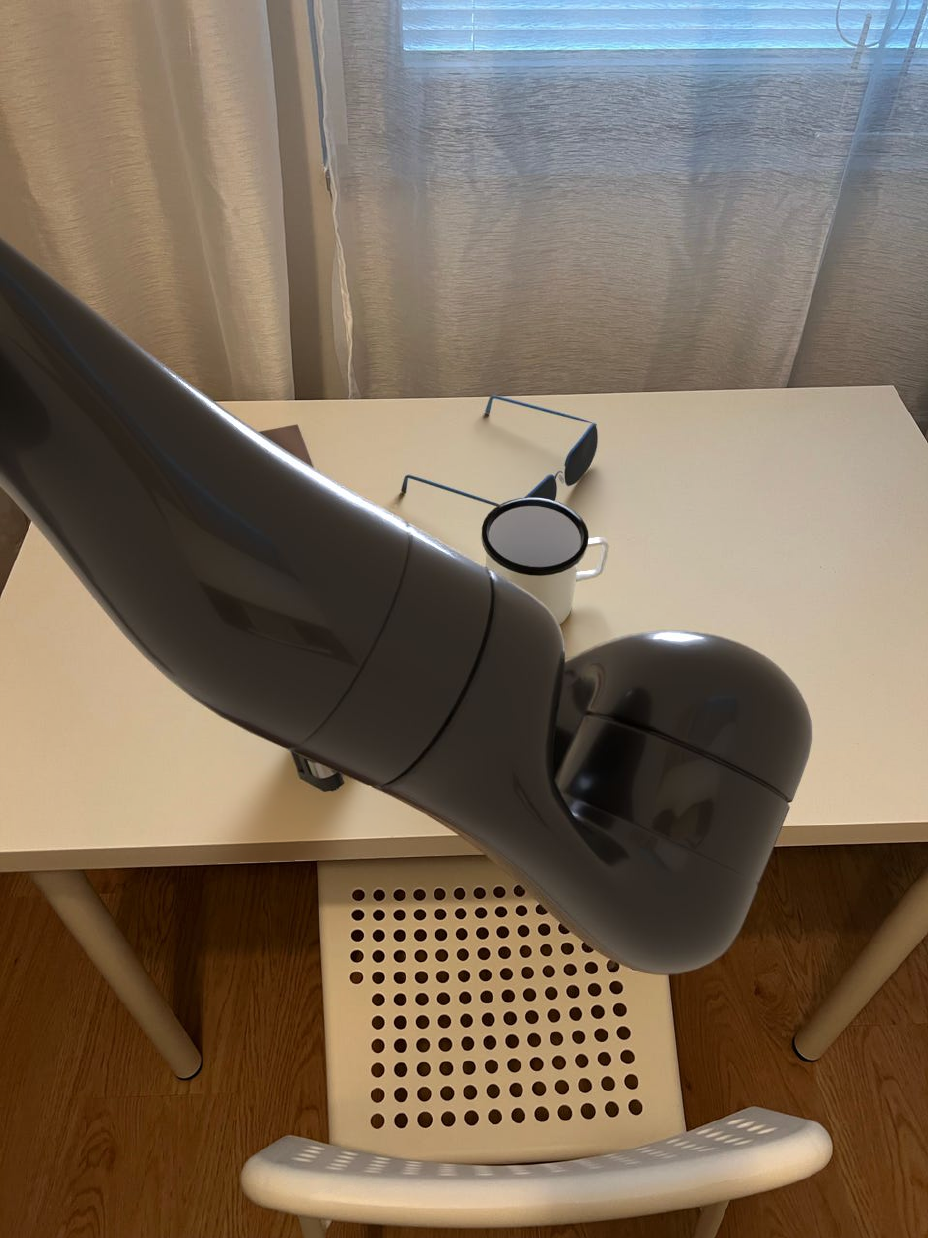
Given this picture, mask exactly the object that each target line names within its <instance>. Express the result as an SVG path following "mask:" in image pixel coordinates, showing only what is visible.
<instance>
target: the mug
mask: <svg viewBox="0 0 928 1238" xmlns="http://www.w3.org/2000/svg"><path fill="white" fill-rule="evenodd" d="M480 540H481V544H482V547H483V549H484V550H485V553H486V554H485V567H487V568H489V569H491V570H493V571H494V572H496V573H498V574H500V575H501V576H503V577H505V578H507V579H508V580H510V581H512V582H513V583H515V584H517V585H518V586H520V587H522V588H523V589H525V590H526V591H528V592H529V593H531V594H532V595H533V596H535V597H536V598H537V599H539V600H540V601H541V602H543V603H544V604H545V605H546V606H547V607H548V608H549V610H550V611H551V612H552V613H553V615H554V616H555V617H556V619H557V621H558V623H559V625H561V624H562V623H563V622H565V621H566V619H567V618H568V617H569V614H570V612H571V610H572V606H573V600H574V593H575V589H576V583H578V582H583V581H586V580H590V579H594V578H598V577H599V576H601V575H602V574H603V572H604V570H605V567H606V564H607V560H608V555H609V548H610V545H609V543H608V541H607V539H606V538H605V537H602V536H601V537H589V529H588V527H587V525H586V523H585V522H584V520H583V518H582V517H581V516H580V515H579V514H578V513H577V512H576V511H575V510H573V509H572V508H571V507H569V506H567V505H566V504H564V503H561V502H559V501H556V500H555V501H553V500H550V499H545V498H537V497H526V498H524V497H518V498H514V499H509V500H507V501H505V502H502V503H501V504H500V505H499V506H495V507H494V508H493V509H492V510H491V511H489V513H487V515H486V517H485V518H484V520H483V522H482V526H481V532H480ZM597 546H602V547H601V553H600V557H599V560H598V565H597V566H596V567H595V568H594V569H591V570H585V571H578V569H579V563H580V561H581V560H582V559H583V558H584V556H585V555H586V554H587V553H586V552H587V551H588V548H591V547H597Z"/></svg>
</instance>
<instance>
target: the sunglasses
mask: <svg viewBox="0 0 928 1238" xmlns="http://www.w3.org/2000/svg"><path fill="white" fill-rule="evenodd" d="M488 399H489V400H488V402H487V405H486V408H485V410H484V411H485V412H484V413H485V414H488V415H490V414H491V410H492V405H493V400H494V399H495V400H500V401H503V402H507V403H511V404H514V405H517V406H522V407H525V408H530V409H532V410H538V411H540V412H545V413H548V414H551V415H556V416H559V417H563V418H567V419H570V420H576V421H580V422H584V423H589V426H588V428H587V429H586V431H585V432H584V433H583V435H582V436H581V437H580V438H579V440H578V441H577V442H576V443H575V445H574V446H573V447H572V448H571V449H570V450H569V452H568V453H567V455H566V458H565V461H564V463H563V464H564V465H563V466H564V471H563V470H557V472H556V473H555V475H553V474H551V473H550V474H548V475H546V476H545V478H543V479H542V480H541V481H540V482H539V483H538V484H537V485H536V486H535V487H533V489H532V490H531V491H529V492H528V493H527V494H526V495H525V496H524V497H523V498H526V497H537V498H545V499H550V500H553V501H556V500H557V499H556V497H557V492H558V485H557V480H556V479H557V476H558V480H559V482H560V483H561V484H564V483H565V485H566V486H567V487H570V486H573V485H575V484H577V483H578V482H579V481H580V480H581V479H582V478H583V477H584V475H585V474H586V472H587V471H588V470H589V468H590V466H591V465H592V462H593V460H594V458H595V456H596V453H597V449H598V443H599V440H598V439H599V436H598V435H599V433H598V428H597V426H598V425H597V423H596V422H592V421H589V420H586V419H584V418H580V417H577V416H574V415H570V414H567V413H564V412H561V411H560V412H559V411H556V410H552V409H549V408H546V407H541V406H538V405H534V404H531V403H527V402H523V401H519V400H515V399H512V398H508V397H503V396H499V395H496V394H495V395H494V394H492V395H490V397H489V398H488ZM560 473H561V474H563V473H564V477H563V475H561V474H560ZM409 479H411V480H414V481H416V482H420V483H423V484H426V485H430V486H432V487H434V488H438V489H441V490H444V491H448V492H450V493H454V494H456V495H460V496H462V497H463V496H464V497H466V498H468V499H472V500H476V501H478V502H482V503H483V504H484V503H485V504H488V505H491V506H495V507H497V506H499V505H500V504H499V503H497V502H494V501H491V500H488V499H485V498H483V497H479V496H476V495H473V494H471V493H468V492H465V491H461V490H459V489H455V488H453V487H450V486H446V485H443V484H440V483H437V482H435V481H431V480H429V479H425V478H422V477H419V476H415V475H413V474H406V475H405V476H404V478H403V482H402V485H401V490H400V492H401V493H403V494H407V489H408V481H409Z"/></svg>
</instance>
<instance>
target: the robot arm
mask: <svg viewBox="0 0 928 1238" xmlns="http://www.w3.org/2000/svg"><path fill="white" fill-rule="evenodd" d="M259 432H260V431H258V430H256V429H254V428H253V427H252V426H251V425H249V424H247V423H246V422H244V421H243V420H241V419H240V418H239V417H237V416H236V415H235V414H233V413H232V412H230V411H229V410H228V409H226V408H224V407H223V406H222V405H220V404H219V403H217V402H216V401H215V400H213V399H212V398H210V397H209V396H208V395H206V394H205V393H203V392H202V391H201V390H199V389H198V388H196V387H195V386H193V384H191V383H190V382H189V381H187V380H185V379H184V378H183V377H182V376H180V375H179V374H178V373H177V372H175V371H173V370H172V369H171V368H170V367H168V366H167V365H166V364H165V363H163V362H162V361H161V360H159V359H158V358H157V357H155V356H153V354H151V353H149V352H148V351H147V350H146V349H144V348H143V346H140V344H138V343H137V342H136V341H134V340H133V339H132V338H131V337H130V336H128V335H127V334H126V333H125V332H123V331H121V329H119V328H118V327H117V326H116V325H114V324H113V323H112V322H111V321H109V319H107V318H106V317H104V316H103V315H102V314H100V313H99V312H98V311H97V310H95V309H94V308H93V307H91V306H90V305H89V304H88V303H86V302H85V301H84V300H82V299H81V298H80V297H78V295H76V294H75V293H74V292H73V291H71V290H70V289H68V288H67V287H66V286H65V285H63V284H62V283H61V282H60V281H59V280H58V279H56V278H55V277H54V276H53V275H51V274H50V273H49V272H48V271H46V270H45V269H43V268H42V267H41V266H40V265H38V264H37V263H36V262H35V261H33V260H32V259H31V258H30V257H28V256H27V255H26V254H25V253H23V252H22V251H20V249H18V248H17V247H16V246H14V245H13V244H12V243H10V242H9V241H7V239H5V238H4V237H3V236H2V235H0V488H1V489H2V490H3V491H4V492H5V493H6V494H7V495H8V496H9V497H10V498H11V499H12V500H13V502H15V504H16V505H17V506H18V508H20V510H21V511H22V512H23V513H24V514H25V516H26V517H27V518H28V519H29V520H30V521H31V523H32V524H33V525H34V526H35V528H36V529H37V530H38V531H39V532H40V533H41V534H42V535H43V537H44V539H46V541H48V542H49V544H50V545H51V546H52V548H53V549H54V550H55V551H56V553H57V555H59V556H60V558H61V559H62V560H63V562H64V563H65V564H66V565H67V567H68V568H69V569H70V570H71V572H72V573H73V574H74V575H75V577H76V578H77V579H78V580H79V582H80V583H81V584H82V586H84V588H85V589H86V591H87V592H88V593H89V594H90V595H91V597H92V598H93V599H94V600H95V601H96V603H97V604H98V605H99V607H101V609H102V610H103V611H104V612H105V613H106V615H107V616H108V617H109V618H110V620H111V621H112V622H113V624H115V626H116V627H117V628H118V630H119V631H120V633H122V634H123V636H124V637H125V638H126V639H127V640H128V641H129V642H130V644H132V645H133V646H134V647H135V648H136V649H137V651H138V652H139V653H140V654H141V655H142V656H143V657H144V658H145V659H146V660H147V661H148V662H149V663H151V664H152V665H153V666H154V667H155V668H156V669H157V670H158V671H159V672H160V673H161V674H162V675H163V676H164V677H166V678H167V680H169V681H170V682H171V683H173V684H174V685H175V686H176V687H178V688H179V689H180V690H182V691H183V692H184V693H185V694H187V695H188V696H189V698H191V699H193V700H195V702H197V703H199V704H200V705H202V706H203V707H205V708H206V709H208V710H210V711H211V712H212V713H214V714H215V715H217V716H219V717H220V718H222V719H223V720H226V721H227V722H229V723H231V724H233V725H235V726H236V727H238V728H241V729H242V730H245V732H248V733H250V734H252V735H254V736H257V737H259V738H261V739H264V740H265V741H268V742H269V743H272V744H274V745H276V746H278V747H281V748H284V749H287V750H288V751H289V752H290V754H291V757H292V759H293V762H294V765H295V767H296V772H297V775H298V777H299V779H300V780H302V781H303V782H305V783H307V784H309V785H311V786H313V787H314V788H316V789H318V790H319V791H322V792H323V793H328V792H335V791H337V790H339V789H340V787H342V786H343V785H345V783H346V782H345V778H346V777H347V778H350V779H352V780H355V781H357V782H359V783H361V784H364V785H366V786H369V787H371V788H373V789H374V790H377V791H379V792H382V793H383V794H386V795H388V796H390V797H392V798H394V799H396V800H398V801H399V802H401V803H403V804H405V805H407V806H409V807H411V808H413V809H415V810H416V811H419V812H420V813H423V814H425V815H426V816H428V817H429V818H431V819H433V820H435V821H436V822H438V823H439V824H441V825H442V826H444V827H446V828H447V829H449V830H450V831H452V832H453V833H455V834H456V835H458V837H461V838H462V839H463V840H464V841H466V842H468V843H469V844H470V845H471V846H473V847H474V848H475V849H477V850H478V851H480V852H481V853H482V854H483V855H484V856H486V857H487V858H488V859H489V860H490V861H492V863H494V864H496V865H497V866H498V867H499V868H500V869H501V870H502V871H503V872H504V873H505V874H506V875H508V876H509V877H510V878H511V879H512V880H513V881H514V882H516V884H517V885H518V886H520V887H521V888H522V889H523V890H524V891H525V892H526V893H527V894H528V895H529V896H530V897H531V898H532V899H533V900H535V902H537V904H539V906H541V907H542V908H543V909H544V910H545V911H546V912H547V913H549V914H550V915H551V916H552V917H553V918H554V919H555V920H556V921H557V922H558V923H559V924H560V925H562V927H564V928H565V929H566V930H567V931H569V932H570V933H572V935H574V936H575V937H576V938H578V940H580V941H581V942H582V943H584V944H585V945H586V946H588V947H590V949H592V950H594V951H595V952H596V953H598V954H599V955H601V956H603V957H605V958H607V959H608V960H610V961H611V962H613V963H616V964H618V965H620V966H623V967H624V968H626V969H629V970H633V971H636V972H639V973H644V974H648V975H649V974H650V975H656V976H675V975H681V974H686V973H691V972H694V971H698V970H700V969H702V968H705V967H708V966H710V965H711V964H714V962H716V961H718V960H719V959H721V958H722V957H723V956H724V955H725V954H727V952H728V951H729V950H730V949H731V948H732V946H733V945H734V943H735V941H736V940H737V938H738V936H739V935H740V933H741V931H742V929H743V926H744V924H745V922H746V919H747V917H748V915H749V912H750V910H751V907H752V905H753V903H754V899H755V898H756V895H757V892H758V890H759V885H758V884H760V883H761V881H762V878H763V876H764V873H765V870H766V868H767V866H768V863H769V860H770V858H771V856H772V853H773V851H774V848H775V845H776V843H777V841H778V838H779V836H780V833H781V830H782V828H783V826H784V823H785V821H786V818H787V816H788V813H789V811H790V805H789V803H792V802H793V801H794V798H795V796H796V793H797V791H798V788H799V785H800V783H801V780H802V778H803V775H804V773H805V770H806V766H807V764H808V761H809V758H810V754H811V749H812V744H813V721H812V717H811V714H810V710H809V707H808V704H807V703H806V700H805V698H804V697H803V694H802V692H801V691H800V689H799V688H798V686H797V684H796V683H795V682H794V681H793V680H792V679H791V677H790V676H789V675H788V674H787V673H786V672H785V671H784V670H783V668H782V667H780V666H779V665H778V664H777V663H776V662H775V661H773V660H772V659H771V658H769V657H768V656H766V655H765V654H762V653H761V652H759V651H757V650H755V649H754V648H752V647H750V646H748V645H746V644H744V643H742V642H740V641H737V640H733V639H730V638H727V637H724V636H721V635H717V634H713V633H708V632H707V633H706V632H701V631H700V632H699V631H693V630H683V629H681V630H680V629H678V630H677V629H668V630H667V629H659V630H658V629H657V630H651V631H650V630H649V631H643V632H642V631H641V632H636V633H629V634H625V635H622V636H618V637H615V638H612V639H609V640H606V641H603V642H600V643H598V644H596V645H594V646H592V647H589V648H587V649H585V650H582V651H581V652H579V653H576V654H574V655H572V656H570V657H567V658H566V646H565V639H564V635H563V631H562V627H561V626H560V625H561V624H560V625H559V623H558V621H557V619H556V617H555V616H554V615H553V613H552V612H551V611H550V610H549V608H548V607H547V606H546V605H545V604H544V603H543V602H541V601H540V600H539V599H537V598H536V597H535V596H533V595H532V594H531V593H529V592H528V591H526V590H525V589H523V588H522V587H520V586H518V585H517V584H515V583H513V582H512V581H510V580H508V579H507V578H505V577H503V576H501V575H500V574H498V573H496V572H494V571H493V570H491V569H489V568H487V567H486V566H484V565H483V564H482V563H480V562H478V561H477V560H475V559H473V558H471V557H470V556H468V555H467V554H464V553H463V552H461V551H459V550H457V549H456V548H454V547H453V546H451V545H449V544H447V543H445V542H444V541H442V540H440V539H438V538H437V537H435V536H433V535H431V534H429V533H428V532H426V531H425V530H423V529H421V528H419V527H418V526H415V525H414V524H412V523H410V522H409V521H406V520H405V519H404V518H402V517H400V516H398V515H396V514H395V513H393V512H391V511H389V510H387V509H386V508H384V507H383V506H381V505H379V504H377V503H376V502H373V501H372V500H370V499H368V498H366V497H364V496H362V495H360V494H359V493H357V492H355V491H354V490H352V489H350V488H348V487H346V486H344V485H343V484H341V483H339V482H338V481H336V480H335V479H333V478H332V477H329V476H328V475H326V474H324V473H323V472H321V471H320V470H318V469H316V468H315V467H314V468H313V467H311V466H310V465H308V464H307V463H305V462H303V461H302V460H300V459H298V458H297V457H295V456H294V455H292V454H290V453H289V452H287V451H286V450H284V449H283V448H282V447H280V446H279V445H277V444H276V443H274V442H273V441H271V440H270V439H268V438H267V437H265V436H264V435H262V434H261V433H259Z"/></svg>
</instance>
